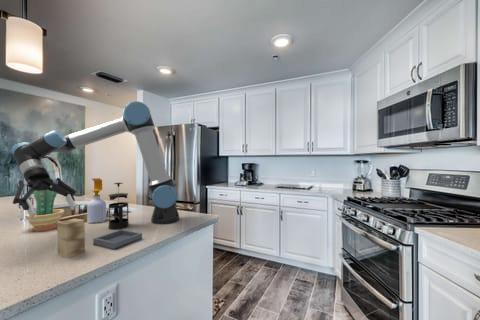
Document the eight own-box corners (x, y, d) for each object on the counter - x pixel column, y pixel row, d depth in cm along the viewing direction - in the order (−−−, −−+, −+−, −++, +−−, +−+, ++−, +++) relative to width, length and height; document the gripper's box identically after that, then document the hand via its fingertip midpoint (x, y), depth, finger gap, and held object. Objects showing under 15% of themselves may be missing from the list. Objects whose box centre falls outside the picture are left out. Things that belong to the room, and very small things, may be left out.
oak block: (75, 248, 87) (75, 218, 87) (84, 251, 85) (84, 220, 85) (57, 254, 82) (57, 222, 82) (67, 257, 79) (66, 224, 79)
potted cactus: (62, 221, 125) (61, 177, 125) (67, 227, 115) (66, 179, 115) (24, 228, 114) (23, 179, 114) (26, 235, 104) (25, 181, 103)
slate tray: (121, 234, 103) (121, 229, 103) (142, 238, 97) (142, 233, 97) (93, 244, 91) (93, 238, 91) (114, 250, 86) (114, 243, 86)
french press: (131, 227, 114) (130, 182, 114) (110, 231, 108) (110, 184, 108) (125, 222, 123) (125, 181, 123) (106, 225, 117) (105, 182, 117)
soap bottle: (84, 224, 121) (84, 179, 121) (91, 219, 130) (90, 177, 130) (103, 222, 123) (102, 178, 123) (108, 218, 132) (107, 177, 132)
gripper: (64, 176, 106) (84, 210, 100) (-11, 181, 83) (8, 226, 77) (71, 165, 104) (91, 199, 97) (-5, 167, 81) (16, 212, 75)
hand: (55, 211), depth 87 cm, fingers open, 13 cm apart
